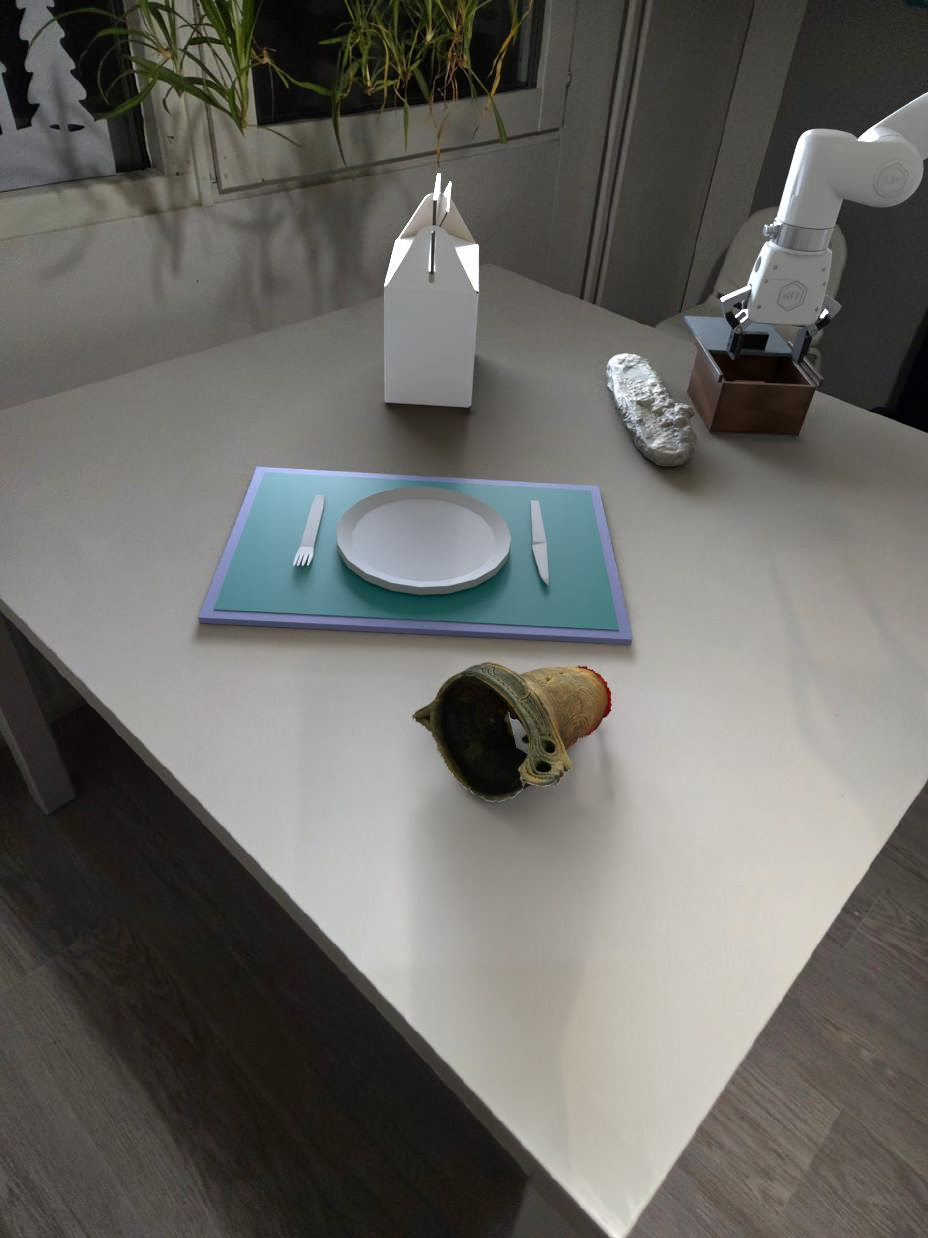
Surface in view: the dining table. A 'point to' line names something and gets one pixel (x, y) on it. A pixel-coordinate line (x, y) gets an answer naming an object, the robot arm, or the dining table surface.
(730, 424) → the brown storage box
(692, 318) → the knobbed box lid
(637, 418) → the elongated rock
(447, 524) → the place mat
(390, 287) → the gable box
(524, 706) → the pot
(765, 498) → the dining table surface
